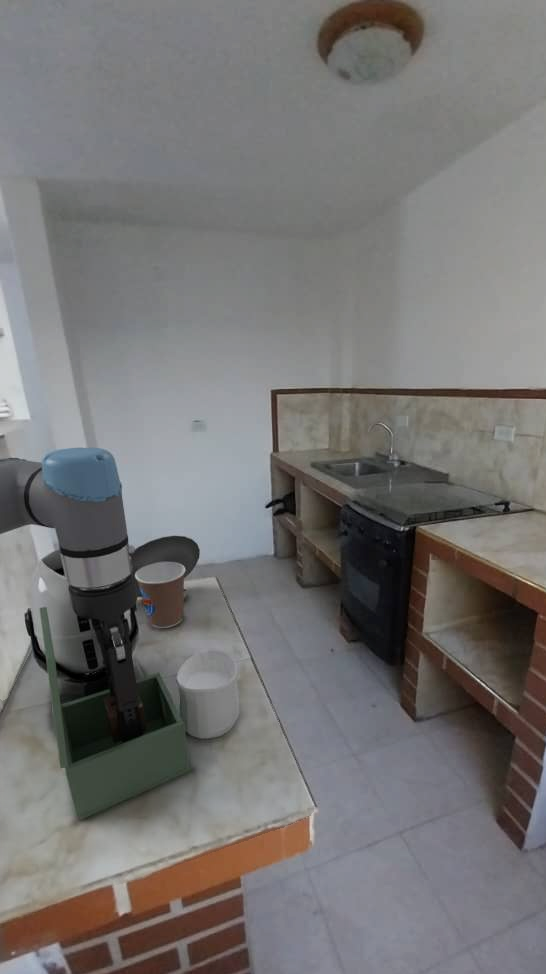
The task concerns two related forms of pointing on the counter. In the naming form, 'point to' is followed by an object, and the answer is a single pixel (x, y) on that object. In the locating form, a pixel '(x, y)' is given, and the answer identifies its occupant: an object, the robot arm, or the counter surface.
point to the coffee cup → (162, 592)
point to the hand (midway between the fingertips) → (128, 724)
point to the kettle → (68, 633)
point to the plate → (166, 554)
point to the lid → (54, 687)
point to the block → (114, 719)
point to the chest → (122, 749)
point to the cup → (208, 694)
